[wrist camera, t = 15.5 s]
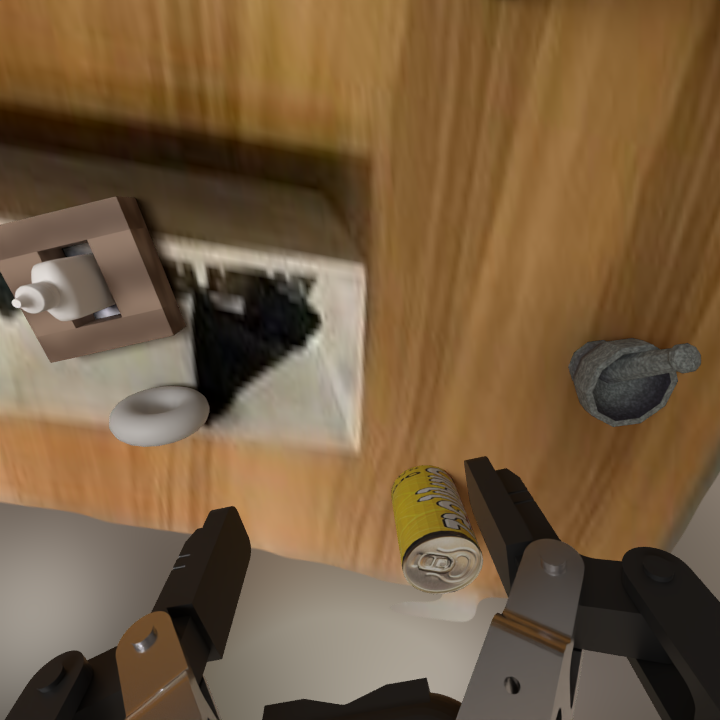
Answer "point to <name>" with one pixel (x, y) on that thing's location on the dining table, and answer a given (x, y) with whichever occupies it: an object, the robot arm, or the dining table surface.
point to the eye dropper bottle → (65, 288)
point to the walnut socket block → (118, 265)
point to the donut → (159, 416)
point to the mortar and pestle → (628, 377)
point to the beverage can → (434, 532)
